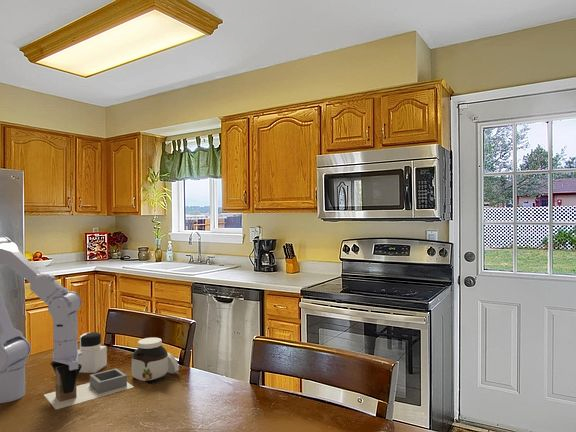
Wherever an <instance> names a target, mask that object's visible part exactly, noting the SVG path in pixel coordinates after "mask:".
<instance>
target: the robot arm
mask: <svg viewBox="0 0 576 432" xmlns="http://www.w3.org/2000/svg"><path fill="white" fill-rule="evenodd" d="M1 265H7V266H8V267H9V268H11V269H12V270H13V271H14V272H16V273H17V274H18V275H19V276H21V277H22V278H24V279H25V280H26V281H27V282H28V283H29V290H30V291H31V292H32V293H34V295H36V296H37V297H38V298H39V299H40V300H41V301H42V302H43V303H45V304H46V305H47V310H48V313H49V314H50V316H51V317H52V325H53V326H52V327H53V329H52V331H53V339H52V340H53V356H52V361H51V362H50V364H49V365H51V367H52V369H53V372H54V374H55V375H56V367H58V368H57V371H58V372H59V374H60V377H61V381H62V387H63V391H64V393H65V394H66V393H70V392H73V390H74V386H75V382H76V383H77V377H78V375H79V373H80V372H79V371H80V369H81V367H82V365H81V364H78V357H79V356H81V355H82V352H81V351H79V352H78V350H79V348H78V347H79V346H78V345H79V344H78V340H79V338H78V337H79V336H78V311H79V310H80V308H81V306H82V299H81V296H80V295H79V293H78V292H76V291H71V290H70V291H69V289H68V288H67V287H64V286H63V285H62V284H60V283H59V282H58V280H56V276H55V275H54V274H50V273H41V272H40V271H39V269H37V268H36V267H35V266H34V264H32V262H30V260H29V259H27V257H26V256H24V255H23V253H22V252H21V251H20V250H19V247H18V245H17V244H16V243H15V242H12V240H11V239H10V238H9V237H6V236H2V235H1V236H0V266H1ZM31 351H32V347H31V343H30V342H29V341H28V339H26V338H25V336H24V334H23V332H22V331H21V330H20V329H17V328H15V327H14V325H13V323H12V320H11V317H10V315H9V311H8V309H7V307H6V303H5V301H4V298H3V295H2V293H1V292H0V404H4V403H9V402H10V403H11V402H13V401H16V400H19V399H21V398H23V397H25V395H26V362H27V358H28V357H29V355H30V354H31ZM63 365H65V366H63ZM59 366H63V367H59Z"/></svg>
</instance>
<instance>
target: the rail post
mask: <svg viewBox="0 0 576 432" xmlns="http://www.w3.org/2000/svg"><path fill="white" fill-rule="evenodd" d="M63 366H65V365H63ZM63 366H59V367H63ZM57 368H58V367H56V374H55V392H56V398H57V399H58V400H59V401H60V402H62V401H65V400H69V399H72V398H76V397H77V391H76V386H77V381H76V382H75V386H74V390H73V392H70V393H66V394H65V393H64V391H63V387H62V381H61V377H60V374H59V372H58V371H57Z"/></svg>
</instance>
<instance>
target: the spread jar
mask: <svg viewBox="0 0 576 432" xmlns="http://www.w3.org/2000/svg"><path fill="white" fill-rule="evenodd" d="M162 344H163V341H162V338H159V337H145V338H142V339H139V340H138V342H137V349H135V351H134V352H133V353H132V356H131V373H132V377H133V379H134V380H137V381H141V382H142V381H143V382H145V383H147V384H155V383H158V382H160V381H161V380H162V379H164V378H165V377H166V375H167V373H169V374H172V375H174V374H175V373H177V372H178V371H179V363H178V361H177V359H176V358H175V357H174V355H173V354H172V353H170V352H168V351H167V349H166V348H165V347H164V345H162Z"/></svg>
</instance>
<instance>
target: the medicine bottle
mask: <svg viewBox="0 0 576 432" xmlns="http://www.w3.org/2000/svg"><path fill="white" fill-rule="evenodd" d="M107 348H108V347H107V346H106V345H102V335H101V333H100V332H97V331H96V332H95V331H91V332H85V333H83V334H80V336H79V348H78V352H79V351H81V352H82V355H81V356H79V357H78V364H81V365H82V367H81V369H80V371H79V373H87V374H96V373H98V372H99V371H100V370H101V369H104V368H105V367H106V366H107V365H108V362H107V361H108V358H107V357H108V356H107V355H108V354H107V353H108V352H107V350H108V349H107Z"/></svg>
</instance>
